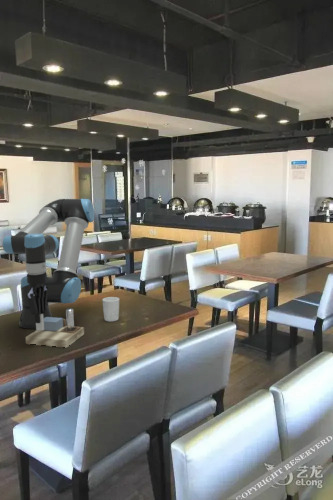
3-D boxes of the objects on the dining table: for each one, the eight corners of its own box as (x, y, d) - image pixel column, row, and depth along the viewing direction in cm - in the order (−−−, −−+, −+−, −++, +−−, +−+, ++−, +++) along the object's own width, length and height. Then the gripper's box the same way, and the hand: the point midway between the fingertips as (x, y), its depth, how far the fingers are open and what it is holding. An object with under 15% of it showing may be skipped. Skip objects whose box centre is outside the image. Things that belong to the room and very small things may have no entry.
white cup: (116, 322, 191) (116, 301, 190) (100, 321, 193) (100, 300, 192) (121, 317, 199) (121, 297, 198) (106, 316, 201) (105, 296, 199)
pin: (65, 337, 172) (64, 310, 170) (69, 335, 175) (68, 308, 173) (72, 338, 171) (71, 310, 169) (75, 336, 174) (74, 308, 172)
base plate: (26, 344, 166) (25, 329, 165) (46, 330, 181) (46, 317, 180) (66, 347, 161) (65, 333, 160) (84, 333, 177) (83, 320, 176)
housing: (39, 329, 173) (38, 321, 172) (46, 325, 179) (46, 316, 178) (56, 331, 171) (55, 322, 170) (63, 326, 177) (62, 318, 176)
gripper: (35, 276, 155) (39, 336, 159) (53, 269, 168) (56, 325, 171) (18, 275, 157) (22, 334, 161) (37, 269, 169) (40, 323, 173)
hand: (40, 329), depth 166 cm, fingers closed
